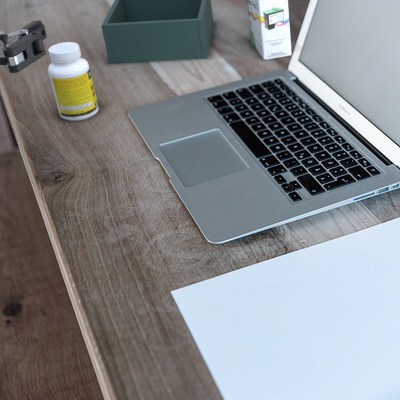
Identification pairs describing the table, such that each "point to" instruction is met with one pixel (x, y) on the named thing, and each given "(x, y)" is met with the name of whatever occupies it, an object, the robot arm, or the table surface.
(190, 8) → the bin
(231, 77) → the table surface
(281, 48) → the ink box
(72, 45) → the supplement bottle
